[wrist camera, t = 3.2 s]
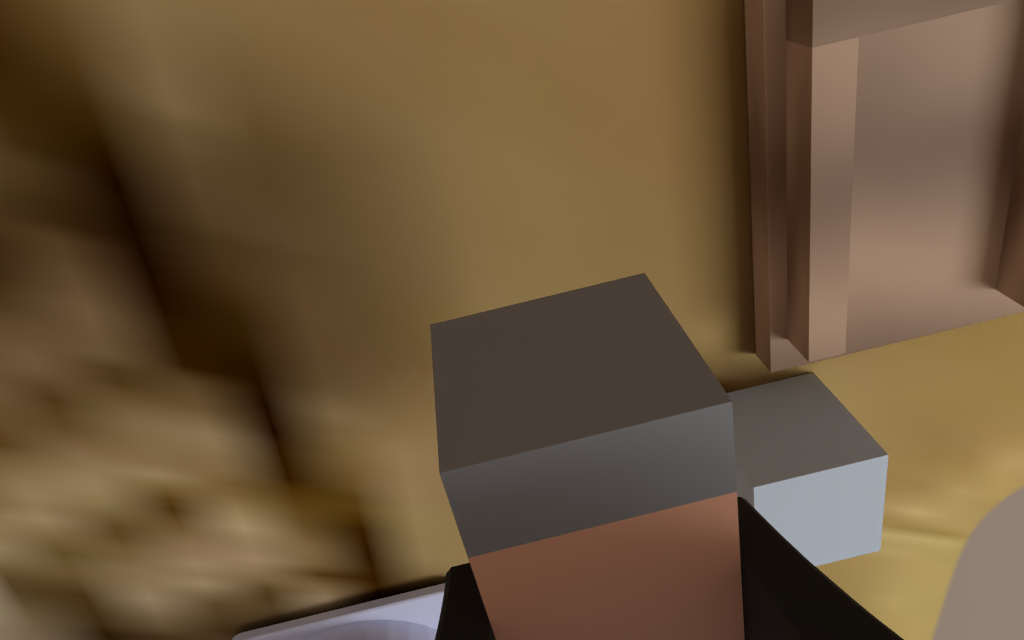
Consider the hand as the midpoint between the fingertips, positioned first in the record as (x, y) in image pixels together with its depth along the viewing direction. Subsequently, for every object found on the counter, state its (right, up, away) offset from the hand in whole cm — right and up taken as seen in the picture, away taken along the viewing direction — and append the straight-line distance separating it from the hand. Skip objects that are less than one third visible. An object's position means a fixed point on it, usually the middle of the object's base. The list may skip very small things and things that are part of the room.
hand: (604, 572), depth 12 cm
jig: (+9, +8, +7) cm, 14 cm away
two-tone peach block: (0, +1, +2) cm, 2 cm away
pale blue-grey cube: (+6, +1, +11) cm, 13 cm away
